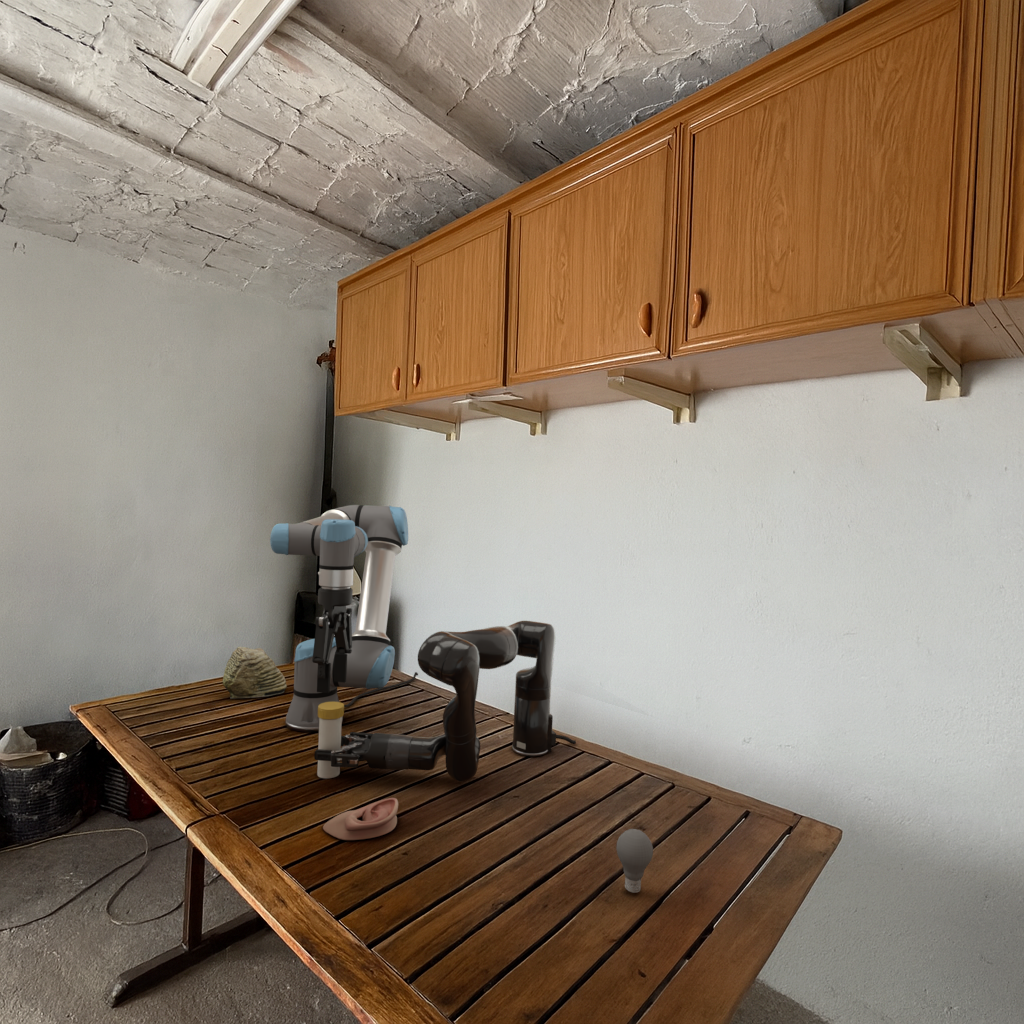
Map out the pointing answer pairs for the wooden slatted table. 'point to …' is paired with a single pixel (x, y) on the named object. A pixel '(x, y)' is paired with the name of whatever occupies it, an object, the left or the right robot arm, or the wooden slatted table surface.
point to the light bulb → (634, 857)
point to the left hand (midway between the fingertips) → (331, 686)
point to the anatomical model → (364, 821)
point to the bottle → (329, 745)
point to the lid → (330, 710)
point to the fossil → (252, 674)
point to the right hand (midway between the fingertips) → (321, 747)
